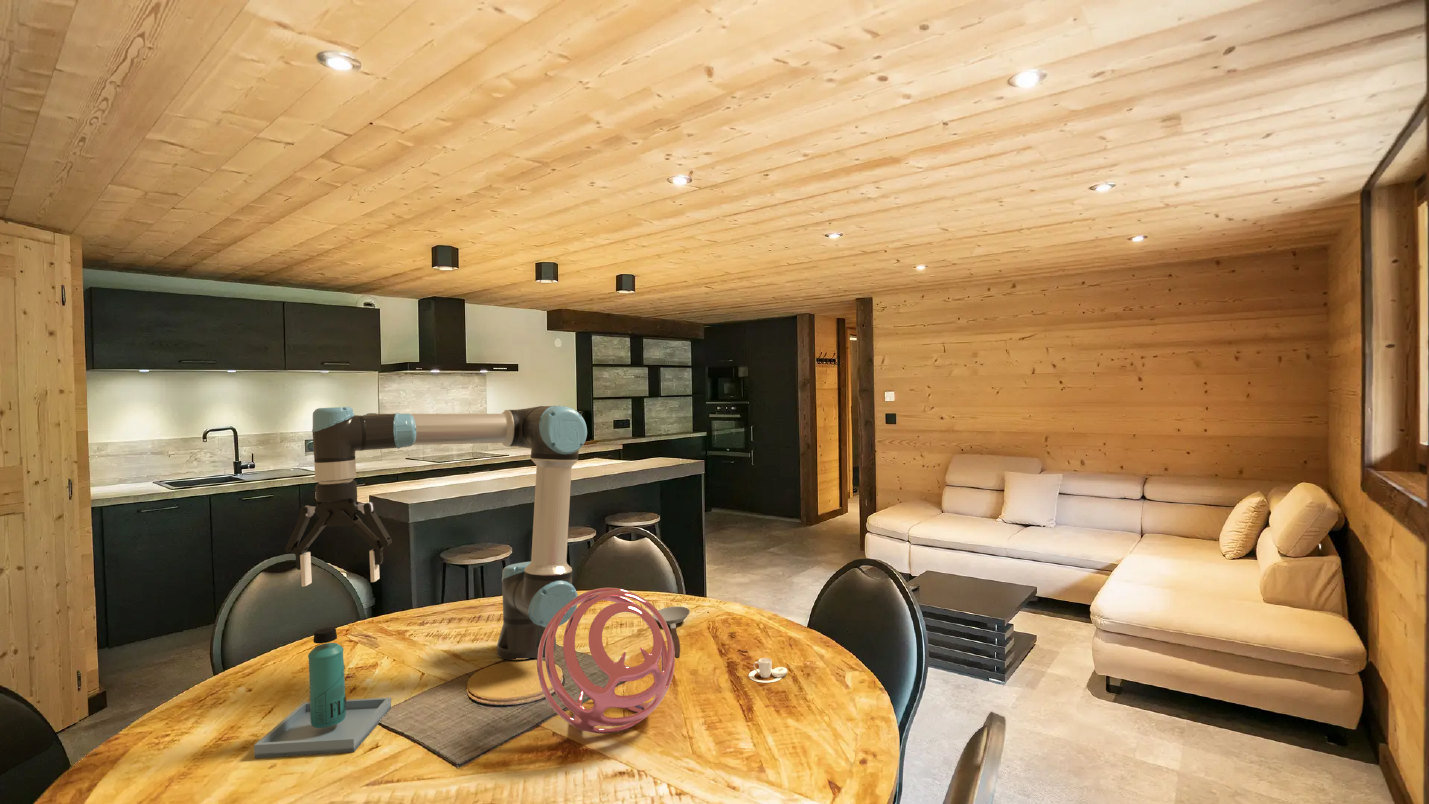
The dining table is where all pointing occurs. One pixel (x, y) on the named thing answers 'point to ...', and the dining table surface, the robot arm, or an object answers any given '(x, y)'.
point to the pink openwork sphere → (606, 664)
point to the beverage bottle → (326, 680)
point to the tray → (323, 731)
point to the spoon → (674, 622)
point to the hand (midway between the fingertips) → (341, 582)
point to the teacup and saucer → (767, 671)
